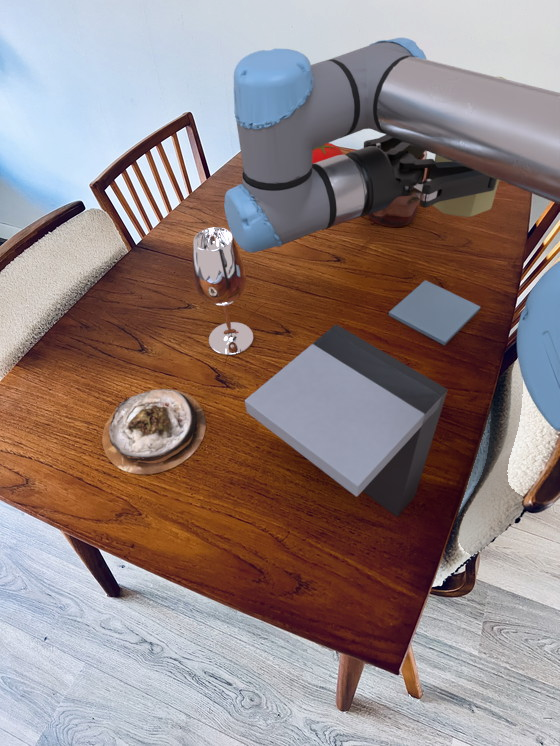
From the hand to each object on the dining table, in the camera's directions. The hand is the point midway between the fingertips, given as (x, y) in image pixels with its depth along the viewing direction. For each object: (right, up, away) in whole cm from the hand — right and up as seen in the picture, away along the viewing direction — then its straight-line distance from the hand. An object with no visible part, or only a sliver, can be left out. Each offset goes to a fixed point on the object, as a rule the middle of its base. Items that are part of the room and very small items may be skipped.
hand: (500, 138), depth 68 cm
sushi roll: (-47, -39, +8) cm, 62 cm away
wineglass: (-37, -25, +19) cm, 49 cm away
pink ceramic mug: (-6, +1, +39) cm, 40 cm away
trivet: (-3, -20, +21) cm, 29 cm away
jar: (-4, -7, +5) cm, 9 cm away
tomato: (-20, +6, +45) cm, 50 cm away
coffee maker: (-21, -47, -1) cm, 52 cm away
